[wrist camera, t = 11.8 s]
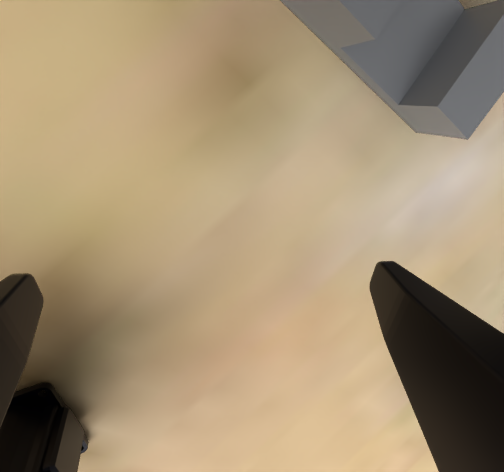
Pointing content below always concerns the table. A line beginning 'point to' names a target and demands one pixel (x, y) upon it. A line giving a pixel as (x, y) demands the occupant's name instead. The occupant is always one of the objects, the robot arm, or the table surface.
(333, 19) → the gray notched block
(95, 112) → the table surface
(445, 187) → the table surface
